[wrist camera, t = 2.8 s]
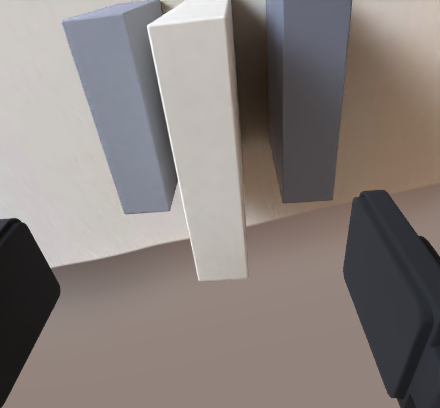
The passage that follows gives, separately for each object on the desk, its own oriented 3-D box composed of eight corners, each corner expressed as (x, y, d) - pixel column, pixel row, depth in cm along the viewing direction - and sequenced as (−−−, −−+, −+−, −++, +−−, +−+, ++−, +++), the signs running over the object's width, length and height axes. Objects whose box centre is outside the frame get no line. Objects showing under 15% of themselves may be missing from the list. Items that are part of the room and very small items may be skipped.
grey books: (312, -21, 22) (354, -16, 14) (306, 139, 28) (332, 200, 20) (116, 4, 23) (60, 20, 15) (151, 152, 29) (124, 214, 22)
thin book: (230, -10, 22) (226, 15, 10) (241, 144, 28) (248, 279, 16) (194, -6, 22) (145, 24, 10) (213, 147, 29) (198, 282, 16)
